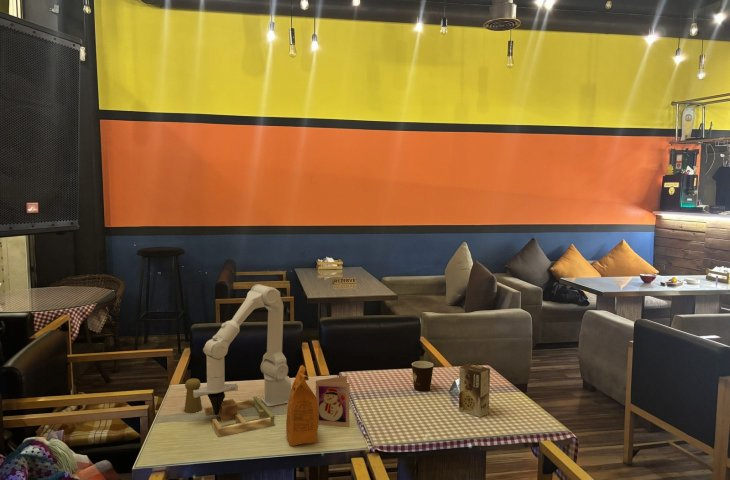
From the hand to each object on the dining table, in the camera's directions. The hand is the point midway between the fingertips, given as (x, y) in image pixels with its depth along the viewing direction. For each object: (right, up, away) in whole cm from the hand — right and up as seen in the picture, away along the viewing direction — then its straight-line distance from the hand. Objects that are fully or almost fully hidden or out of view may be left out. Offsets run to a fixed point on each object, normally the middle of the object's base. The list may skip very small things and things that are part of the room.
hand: (216, 414), depth 181 cm
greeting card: (+40, -3, -1) cm, 40 cm away
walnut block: (+3, -2, +2) cm, 4 cm away
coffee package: (+31, -4, -13) cm, 33 cm away
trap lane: (+8, -2, 0) cm, 8 cm away
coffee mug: (+73, 0, +32) cm, 80 cm away
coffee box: (+89, -2, +9) cm, 90 cm away
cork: (-10, -1, +8) cm, 13 cm away
